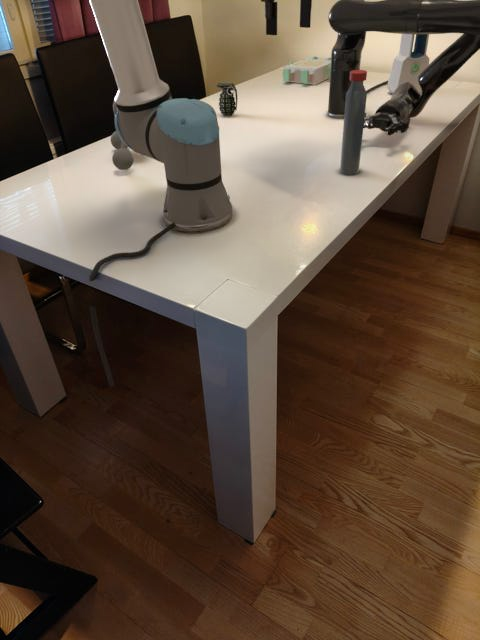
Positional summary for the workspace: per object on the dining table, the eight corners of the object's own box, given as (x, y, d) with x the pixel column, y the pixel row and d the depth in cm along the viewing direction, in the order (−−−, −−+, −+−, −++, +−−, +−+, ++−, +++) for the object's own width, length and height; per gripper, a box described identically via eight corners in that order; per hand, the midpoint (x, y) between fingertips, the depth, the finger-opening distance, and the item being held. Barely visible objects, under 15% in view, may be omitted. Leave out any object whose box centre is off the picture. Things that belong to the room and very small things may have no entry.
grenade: (217, 117, 168) (214, 86, 162) (221, 112, 172) (219, 82, 166) (235, 117, 166) (233, 86, 160) (239, 113, 171) (238, 82, 165)
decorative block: (305, 54, 216) (346, 57, 206) (304, 70, 220) (345, 74, 210) (274, 66, 200) (317, 69, 190) (274, 83, 204) (316, 87, 194)
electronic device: (396, 96, 178) (409, -2, 159) (385, 92, 183) (397, -3, 165) (426, 92, 180) (443, -5, 162) (415, 88, 186) (430, -6, 167)
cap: (369, 79, 111) (370, 71, 110) (358, 82, 109) (358, 74, 108) (357, 76, 113) (358, 69, 112) (345, 79, 111) (346, 71, 110)
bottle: (362, 171, 124) (373, 73, 110) (349, 176, 122) (358, 76, 108) (348, 166, 127) (357, 70, 113) (336, 171, 125) (343, 73, 111)
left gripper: (309, -81, 115) (305, 23, 128) (240, -81, 100) (243, 37, 113) (336, -84, 111) (330, 25, 124) (268, -84, 96) (269, 39, 109)
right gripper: (369, 97, 141) (349, 112, 130) (419, 102, 135) (402, 118, 124) (366, 124, 145) (346, 140, 135) (414, 130, 139) (397, 147, 129)
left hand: (288, 31), depth 118 cm, fingers open, 13 cm apart
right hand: (373, 129), depth 129 cm, fingers open, 8 cm apart
